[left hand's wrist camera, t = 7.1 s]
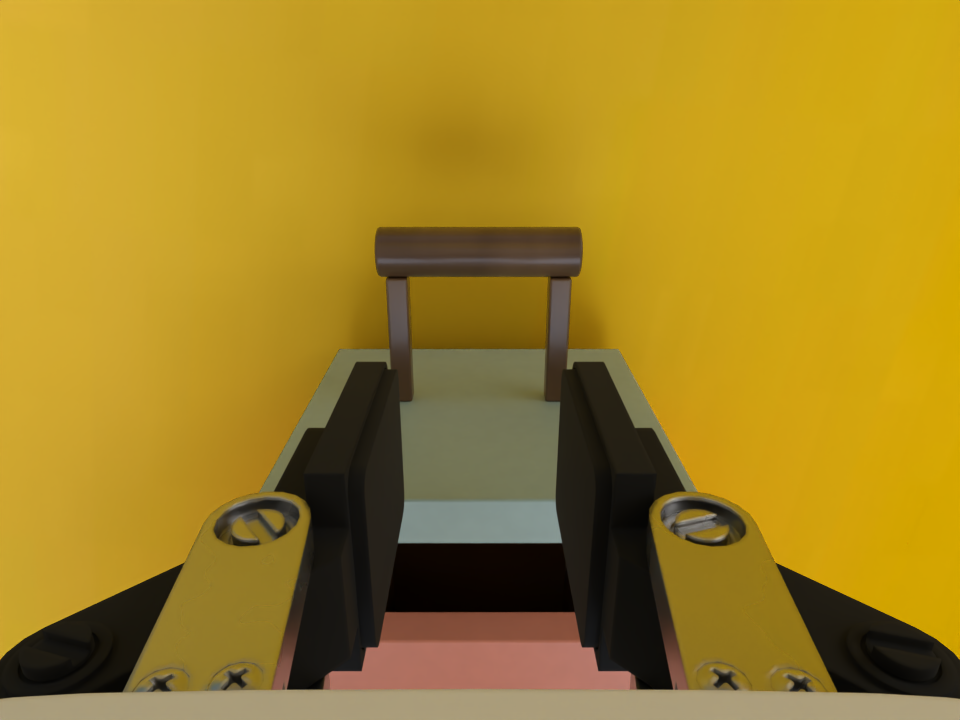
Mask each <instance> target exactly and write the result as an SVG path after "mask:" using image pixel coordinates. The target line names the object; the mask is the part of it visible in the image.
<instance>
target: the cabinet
mask: <svg viewBox="0 0 960 720" xmlns="http://www.w3.org/2000/svg"><path fill="white" fill-rule="evenodd" d="M329 677H330V690H358V689H602V690H630V677H631V673H630V672H628V671H598V667H597V663H596V658H595V653H594V648H582V646H581V642H580V637H579V632H578V626H577V621H576V616H575V612H385V615H384V621H383V626H382V632H381V637H380V642H379V646H378V648H366V653H365V658H364V663H363V667H362V671H332V672H330V673H329Z"/></svg>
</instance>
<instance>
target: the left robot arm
mask: <svg viewBox="0 0 960 720" xmlns="http://www.w3.org/2000/svg"><path fill="white" fill-rule="evenodd" d="M403 512H404V475H403V455H402V435H401V415H400V395H399V377H398V370H397V369H388V367H387V363H386V362H356V363H355V365H354V367H353V369H352V371H351V373H350V376H349V378H348V380H347V382H346V384H345V386H344V388H343V390H342V393H341V395H340V397H339V399H338V401H337V403H336V405H335V407H334V410H333V412H332V414H331V416H330V418H329V420H328V422H327V424H326V427H325V428H308V429H307V430H306V431H305V433H304V435H303V437H302V438H301V440H300V442H299V444H298V446H297V448H296V450H295V452H294V454H293V456H292V457H291V459H290V461H289V463H288V465H287V467H286V469H285V471H284V473H283V475H282V477H281V478H280V480H279V482H278V484H277V486H276V488H275V490H274V492H261V493H254V494H249V495H246V496H243V497H239V498H236V499H234V500H232V501H230V502H228V503H226V504H224V505H222V506H220V507H219V508H218V509H217V510H215V511H214V512H213V513H211V514H210V516H209V517H208V518H207V520H206V521H205V522H204V524H203V526H202V528H201V530H200V532H199V534H198V536H197V538H196V540H195V542H194V545H193V547H192V549H191V551H190V553H189V555H188V557H187V559H186V561H185V563H183V564H181V565H179V566H176V567H174V568H172V569H170V570H168V571H166V572H163V573H161V574H159V575H157V576H155V577H153V578H151V579H148V580H146V581H144V582H142V583H140V584H138V585H135V586H133V587H131V588H129V589H127V590H125V591H123V592H120V593H118V594H116V595H114V596H112V597H110V598H107V599H105V600H103V601H101V602H99V603H97V604H94V605H92V606H90V607H88V608H86V609H84V610H82V611H79V612H77V613H75V614H73V615H71V616H69V617H66V618H64V619H62V620H60V621H58V622H56V623H54V624H51V625H49V626H47V627H45V628H43V629H41V630H39V631H38V632H36V633H34V634H32V635H30V636H29V637H27V638H25V639H23V640H22V641H21V642H20V643H18V644H17V645H16V646H15V647H13V648H12V649H11V650H10V651H8V652H7V653H6V654H5V655H4V656H3V657H2V659H1V660H0V720H960V660H959V659H958V658H957V656H956V655H955V654H954V653H953V652H952V651H950V650H949V649H948V648H947V647H945V646H944V645H943V644H942V643H940V642H939V641H938V640H937V639H935V638H933V637H931V636H930V635H928V634H926V633H924V632H922V631H921V630H919V629H917V628H915V627H913V626H911V625H909V624H906V623H904V622H902V621H900V620H898V619H896V618H894V617H891V616H889V615H887V614H885V613H883V612H881V611H878V610H876V609H874V608H872V607H870V606H868V605H865V604H863V603H861V602H859V601H857V600H855V599H853V598H850V597H848V596H846V595H844V594H842V593H840V592H837V591H835V590H833V589H831V588H829V587H827V586H825V585H822V584H820V583H818V582H816V581H814V580H812V579H809V578H807V577H805V576H803V575H801V574H799V573H796V572H794V571H792V570H790V569H788V568H786V567H784V566H781V565H779V564H777V563H775V561H774V559H773V557H772V555H771V553H770V551H769V549H768V547H767V545H766V542H765V540H764V538H763V536H762V534H761V532H760V530H759V528H758V526H757V524H756V522H755V521H754V520H753V518H752V517H751V516H750V514H749V513H747V512H746V511H745V510H743V509H742V508H741V507H740V506H738V505H736V504H734V503H732V502H730V501H728V500H726V499H724V498H721V497H717V496H714V495H711V494H706V493H699V492H686V490H685V488H684V486H683V484H682V482H681V480H680V478H679V477H678V475H677V473H676V471H675V469H674V467H673V465H672V463H671V461H670V459H669V457H668V456H667V454H666V452H665V450H664V448H663V446H662V444H661V442H660V440H659V438H658V437H657V435H656V433H655V431H654V430H653V429H652V428H635V427H634V424H633V422H632V420H631V418H630V416H629V414H628V412H627V410H626V407H625V405H624V403H623V401H622V399H621V397H620V395H619V393H618V390H617V388H616V386H615V384H614V382H613V380H612V378H611V376H610V373H609V371H608V369H607V367H606V365H605V363H604V362H574V363H573V367H572V369H563V370H562V377H561V395H560V415H559V435H558V455H557V475H556V512H557V518H558V523H559V529H560V534H561V540H562V545H563V551H564V556H565V561H566V567H567V572H568V578H569V583H570V588H571V594H572V599H573V605H574V610H575V616H576V621H577V626H578V632H579V637H580V642H581V646H582V648H594V653H595V658H596V663H597V667H598V671H628V672H630V673H631V677H630V690H602V689H358V690H330V677H329V673H330V672H332V671H362V667H363V663H364V658H365V653H366V648H378V646H379V642H380V637H381V632H382V626H383V621H384V615H385V610H386V605H387V599H388V594H389V588H390V583H391V578H392V572H393V567H394V561H395V556H396V550H397V545H398V540H399V534H400V529H401V523H402V518H403Z"/></svg>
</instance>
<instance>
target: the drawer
mask: <svg viewBox="0 0 960 720" xmlns="http://www.w3.org/2000/svg"><path fill="white" fill-rule="evenodd" d="M582 255H583V242H582V233H581V230H580V228H578V227H379V228H378V229H377V231H376V235H375V263H376V269H377V273H378V275H379V276H381V277H387V279H386V293H387V311H388V330H389V348H390V349H340V350H339V351H338V353H337V354H336V356H335V358H334V360H333V362H332V363H331V365H330V367H329V369H328V371H327V372H326V374H325V376H324V378H323V379H322V381H321V383H320V385H319V387H318V388H317V390H316V392H315V394H314V395H313V397H312V399H311V401H310V403H309V404H308V406H307V408H306V410H305V412H304V413H303V415H302V417H301V419H300V420H299V422H298V424H297V426H296V428H295V429H294V431H293V433H292V435H291V437H290V438H289V440H288V442H287V444H286V445H285V447H284V449H283V451H282V453H281V454H280V456H279V458H278V460H277V461H276V463H275V465H274V467H273V469H272V470H271V472H270V474H269V476H268V478H267V479H266V481H265V483H264V485H263V486H262V488H261V490H260V492H259V493H261V492H274V490H275V488H276V486H277V484H278V482H279V480H280V478H281V477H282V475H283V473H284V471H285V469H286V467H287V465H288V463H289V461H290V459H291V457H292V456H293V454H294V452H295V450H296V448H297V446H298V444H299V442H300V440H301V438H302V437H303V435H304V433H305V431H306V430H307V429H308V428H325V427H326V424H327V422H328V420H329V418H330V416H331V414H332V412H333V410H334V407H335V405H336V403H337V401H338V399H339V397H340V395H341V393H342V390H343V388H344V386H345V384H346V382H347V380H348V378H349V376H350V373H351V371H352V369H353V367H354V365H355V363H356V362H386V363H387V367H388V369H397V370H398V377H399V395H400V415H401V435H402V455H403V475H404V512H403V518H402V523H401V529H400V534H399V540H398V545H397V550H396V556H395V561H394V567H393V572H392V578H391V583H390V588H389V594H388V599H387V605H386V610H385V612H575V610H574V605H573V599H572V594H571V588H570V583H569V578H568V572H567V567H566V561H565V556H564V551H563V545H562V540H561V534H560V529H559V523H558V518H557V512H556V475H557V455H558V435H559V415H560V395H561V377H562V370H563V369H572V367H573V363H574V362H604V363H605V365H606V367H607V369H608V371H609V373H610V376H611V378H612V380H613V382H614V384H615V386H616V388H617V390H618V393H619V395H620V397H621V399H622V401H623V403H624V405H625V407H626V410H627V412H628V414H629V416H630V418H631V420H632V422H633V424H634V427H635V428H652V429H653V430H654V431H655V433H656V435H657V437H658V438H659V440H660V442H661V444H662V446H663V448H664V450H665V452H666V454H667V456H668V457H669V459H670V461H671V463H672V465H673V467H674V469H675V471H676V473H677V475H678V477H679V478H680V480H681V482H682V484H683V486H684V488H685V490H686V492H697V490H696V488H695V486H694V484H693V483H692V481H691V479H690V477H689V475H688V474H687V472H686V470H685V468H684V466H683V465H682V463H681V461H680V459H679V457H678V456H677V454H676V452H675V450H674V448H673V447H672V445H671V443H670V441H669V439H668V438H667V436H666V434H665V432H664V430H663V429H662V427H661V425H660V423H659V421H658V420H657V418H656V416H655V414H654V412H653V411H652V409H651V407H650V405H649V403H648V402H647V400H646V398H645V396H644V394H643V393H642V391H641V389H640V387H639V385H638V383H637V382H636V380H635V378H634V376H633V374H632V373H631V371H630V369H629V367H628V365H627V364H626V362H625V360H624V358H623V356H622V355H621V353H620V351H619V350H618V349H568V340H569V321H570V302H571V283H572V280H571V278H570V277H577V276H579V274H580V271H581V266H582ZM409 277H548V294H547V319H546V345H545V349H412V330H411V305H410V281H409Z"/></svg>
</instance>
